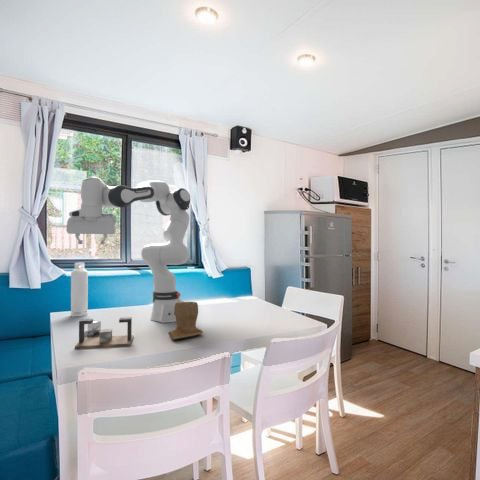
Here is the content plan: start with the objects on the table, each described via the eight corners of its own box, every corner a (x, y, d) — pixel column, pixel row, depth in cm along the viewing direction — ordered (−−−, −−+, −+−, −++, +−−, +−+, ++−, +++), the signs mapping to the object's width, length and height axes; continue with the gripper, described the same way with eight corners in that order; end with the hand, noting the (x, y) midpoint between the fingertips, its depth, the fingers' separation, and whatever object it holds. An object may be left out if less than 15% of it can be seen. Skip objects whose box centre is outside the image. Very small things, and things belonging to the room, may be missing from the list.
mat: (107, 331, 147) (107, 330, 147) (103, 337, 138) (103, 336, 138) (85, 332, 145) (85, 330, 145) (80, 338, 136) (80, 337, 136)
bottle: (76, 317, 171) (76, 263, 171) (67, 315, 175) (67, 262, 175) (90, 314, 178) (91, 262, 178) (81, 312, 182) (82, 261, 182)
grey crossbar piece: (97, 337, 136) (97, 325, 136) (84, 338, 135) (84, 325, 135) (103, 329, 148) (103, 318, 148) (91, 329, 147) (91, 318, 147)
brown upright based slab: (192, 330, 151) (192, 297, 151) (206, 336, 142) (206, 301, 141) (161, 335, 141) (162, 301, 141) (174, 343, 132) (175, 306, 132)
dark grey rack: (133, 337, 139) (133, 315, 139) (130, 346, 128) (130, 321, 128) (82, 339, 135) (82, 316, 135) (74, 349, 124) (74, 323, 124)
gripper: (117, 214, 153) (117, 244, 153) (69, 213, 149) (69, 243, 149) (114, 213, 147) (114, 244, 147) (65, 212, 143) (65, 244, 143)
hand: (91, 244), depth 148 cm, fingers open, 8 cm apart
